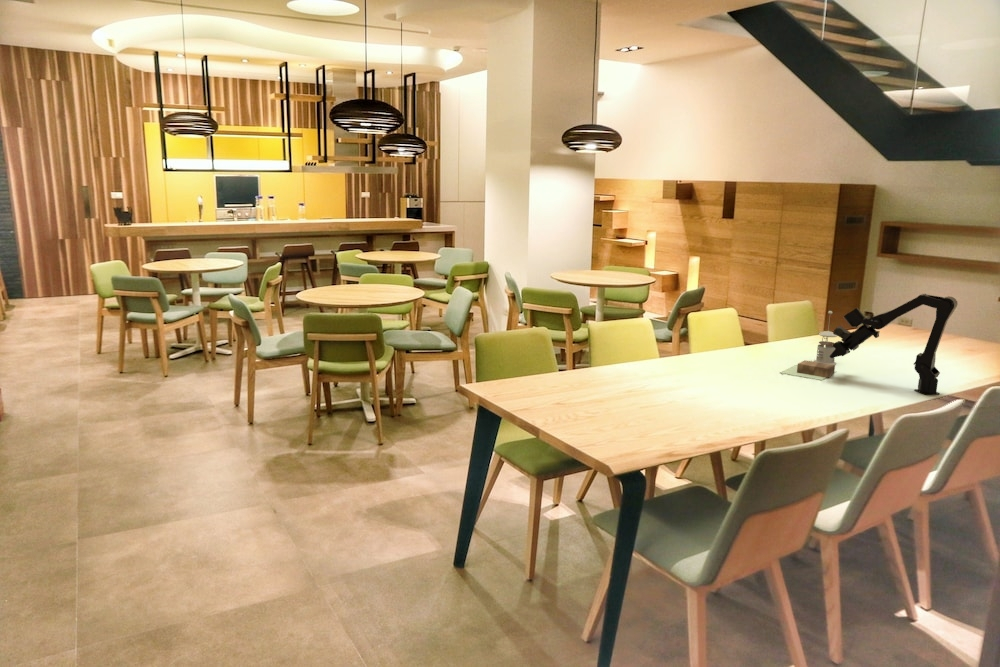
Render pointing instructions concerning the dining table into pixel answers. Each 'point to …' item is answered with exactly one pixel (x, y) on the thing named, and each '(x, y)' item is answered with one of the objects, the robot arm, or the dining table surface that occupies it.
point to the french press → (826, 347)
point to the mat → (793, 372)
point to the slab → (815, 368)
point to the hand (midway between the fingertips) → (830, 357)
